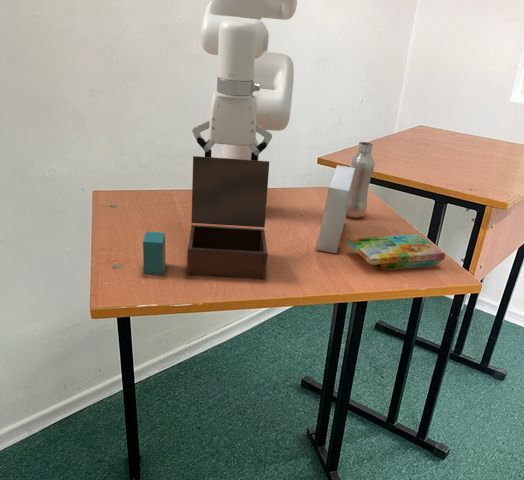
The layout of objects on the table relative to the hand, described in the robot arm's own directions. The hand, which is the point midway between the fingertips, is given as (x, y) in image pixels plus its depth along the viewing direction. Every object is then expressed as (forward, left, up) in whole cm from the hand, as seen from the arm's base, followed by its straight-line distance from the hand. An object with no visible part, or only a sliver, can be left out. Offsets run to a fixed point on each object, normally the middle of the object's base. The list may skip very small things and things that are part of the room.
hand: (230, 170), depth 132 cm
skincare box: (-1, +29, -18) cm, 34 cm away
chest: (+12, -3, -18) cm, 22 cm away
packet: (+12, -19, -18) cm, 29 cm away
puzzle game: (+15, +38, -18) cm, 44 cm away
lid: (+4, -1, -4) cm, 6 cm away
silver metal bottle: (-15, +42, -18) cm, 48 cm away
